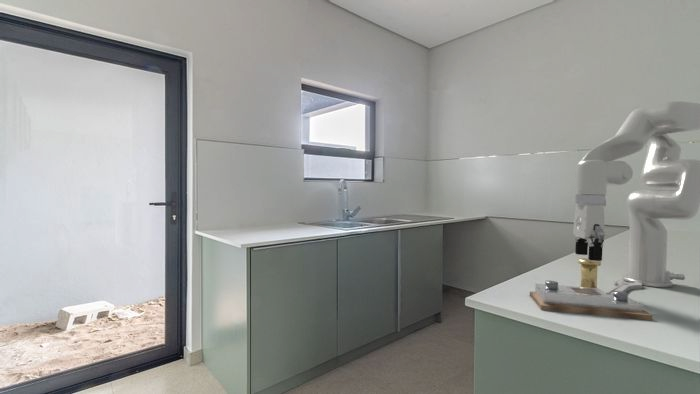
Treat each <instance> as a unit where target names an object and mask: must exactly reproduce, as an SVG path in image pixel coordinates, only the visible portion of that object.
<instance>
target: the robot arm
mask: <svg viewBox="0 0 700 394" xmlns="http://www.w3.org/2000/svg"><path fill="white" fill-rule="evenodd" d="M697 130H700V103H697V102H688V101H677V100H676V101H674V100H673V101H667V102H662V103H657V104H651V105H646V106H641V107H638V108H636V109H634V110H632V111H631V112H630V113H629V115H628V116H627V118H626V119H625V120H624V121H623V123H622V125H621V126H620V128H619V129H618V130H617V132H616V133H615V134H614V135H613V136H612V137H610V138H609V139H607V140H605V141H603V142H602V143H600V144H598V145H596V146H595V147H593V148H592V149H590V151H588V152H587V153H586V154H585V155H584V156H583V158H581V160H579V162H578V163H577V164H576V171H575V200H574V202H575V203H574V205H575V210H574V211H575V212H574V218H573V219H574V220H573V227H572V228H573V230H572V234H573V236H575V250H574V251H575V252H574V253H575V254H576V255H577V256H579V255H581V256H588V258H587V259H589V260H594V261H601V262H602V260H603V247H604V242H605V240H604V239H605V236H606V235H605V234H606V233H605V210H604V207H607V188H608V186H622V185H625V184H627V183H628V182H630V181H631V179H632V178H633V175H634V172H633V171H634V170H633V168H632V166H631V165H630V164H629V163H627V162H625V161H623V160H619V159H623V158H626V157H629V156H631V155H634V154H636V153H639V152H640V151H642V150H643V149H644V148H645V147H646V148H647V151H646V154H645V159H644V161H643V165H642V169H641V172H640V176H639V177H640V178H639V179H640V184H641V185H642V186H644V187H646V188H647V189H637V190H634V191H632V192H631V193H629V194H628V196H627V197H626V209H627V213H628V218H629V219H628V220H629V235H628V236H629V237H628V238H629V239H628V240H629V244H628V270H627V271H628V273H627V274H623V275H622V280H624V281H625V282H628V283H634V281H637V282H640V283H642V286H647V287H653V288H654V287H655V288H670V287H672V286H673V282H672V281H673V280H678V281H679V280H681V281H684V280H685V278H686V277H685V274H684V273H674V272H672V271H668V270H667V259H668V258H667V256H668V252H667V251H668V231H667V228H666V226H665V225H664V224H663V222H661V221H660V220H661V219H663V220H664V219H665V220H666V219H667V220H679V221H680V220H681V221H684V220H686V221H687V220H691V219H693V218H694V217H695V216H697V214H698V212H699V209H700V159H695V158H681V159H680V157H681V154H682V148H681V146H680V145H679V143H678V142H677V141H676V140H674V139H673V138H671V136H669V134H675V133H676V134H677V133H683V132H692V131H697ZM648 188H650V189H648ZM588 241H589V242H588Z"/></svg>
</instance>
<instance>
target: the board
mask: <svg viewBox="0 0 700 394" xmlns="http://www.w3.org/2000/svg"><path fill="white" fill-rule="evenodd" d="M529 297H530V298H531V299H532V300H533V301H534V303H535V304H536V305H537V307H538V308H539V309H540V310H541V311H551V312H560V313H563V312H564V313H572V314H573V313H574V314H583V315H594V316H604V317H613V318H625V319H636V320H644V321H645V320H647V321H654V320H653V319H654V318H653V317H654V316H653V314H651V313H650V312H648V311H646V310H645V309H643V312H638V311H627V310H615V309H604V308H593V307H582V306H571V305H560V304H549V303H543V302H542V301H541V300H540V299H539V297H538V296H537V295H536V294H535V291H529Z"/></svg>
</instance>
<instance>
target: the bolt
mask: <svg viewBox="0 0 700 394" xmlns="http://www.w3.org/2000/svg"><path fill="white" fill-rule="evenodd" d="M601 262H602V261H594V260H589V259H588V258H585V257H584V258H583V257H582V258H578V259H577V263H578V264H580V287H588V288H598V266H601V265H602V263H601Z"/></svg>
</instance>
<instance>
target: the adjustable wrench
mask: <svg viewBox="0 0 700 394" xmlns="http://www.w3.org/2000/svg"><path fill="white" fill-rule="evenodd" d="M613 282H614V283H613V284H614V285H615V287H614V288H612V289H610V290H609V291H607V292H605V293H606V294H609V295H613V291H621V292H625V293H627V291H629V290H638V289H643V285H642V283H640V282H637V281H634V283H631V282H628V281H625V280H624V279H617V280H614V281H613Z"/></svg>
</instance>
